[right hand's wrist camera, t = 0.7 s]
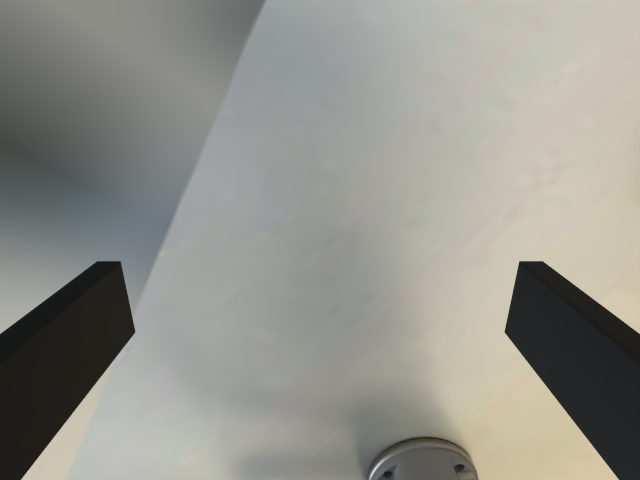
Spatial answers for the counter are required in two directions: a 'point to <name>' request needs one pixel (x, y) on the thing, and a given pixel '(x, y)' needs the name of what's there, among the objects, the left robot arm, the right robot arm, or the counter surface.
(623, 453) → the right robot arm
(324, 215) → the counter surface
